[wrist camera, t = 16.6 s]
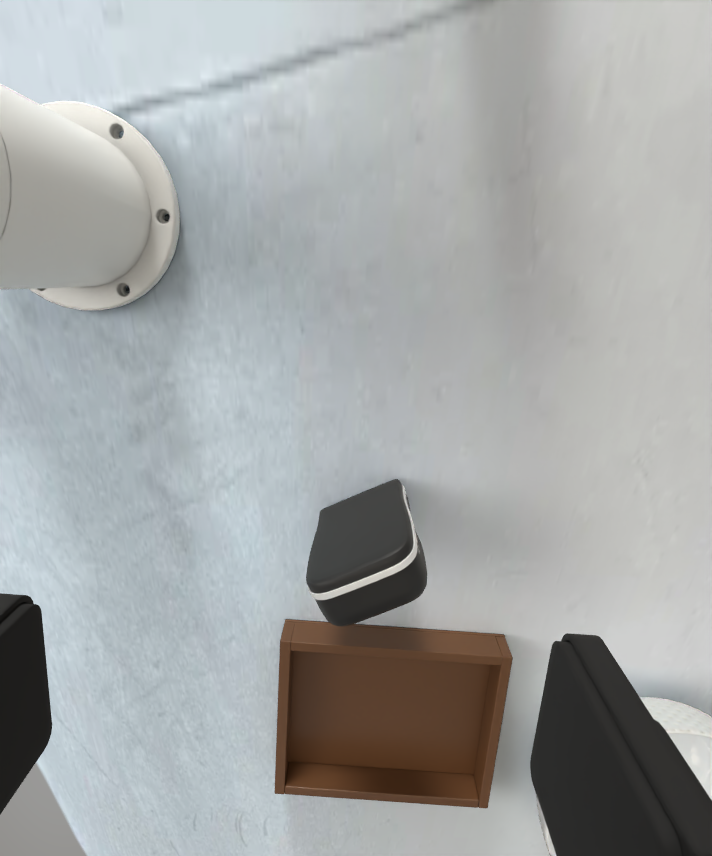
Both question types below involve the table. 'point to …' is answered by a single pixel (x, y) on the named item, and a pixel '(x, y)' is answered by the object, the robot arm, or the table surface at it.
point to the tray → (389, 713)
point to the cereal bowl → (691, 733)
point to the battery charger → (366, 556)
